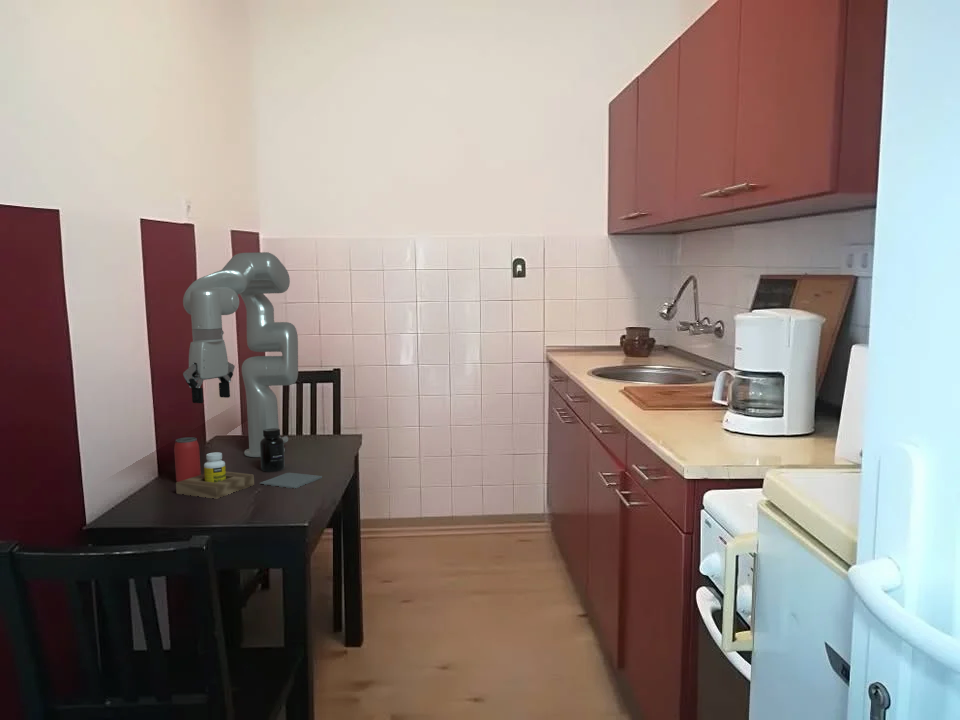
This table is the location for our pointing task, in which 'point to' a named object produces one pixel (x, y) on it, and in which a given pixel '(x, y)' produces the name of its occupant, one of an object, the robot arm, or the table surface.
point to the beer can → (187, 458)
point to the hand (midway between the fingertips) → (211, 400)
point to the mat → (291, 480)
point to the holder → (214, 485)
